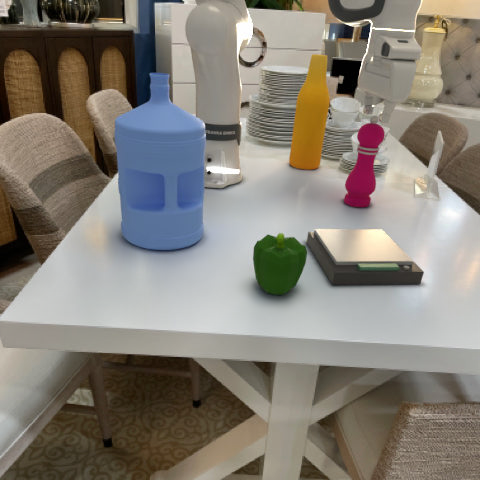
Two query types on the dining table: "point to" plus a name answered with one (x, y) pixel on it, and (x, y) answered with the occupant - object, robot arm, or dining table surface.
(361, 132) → the pepper mill
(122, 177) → the water jug
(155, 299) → the dining table surface
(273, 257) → the bell pepper
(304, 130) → the beer bottle
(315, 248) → the scale
